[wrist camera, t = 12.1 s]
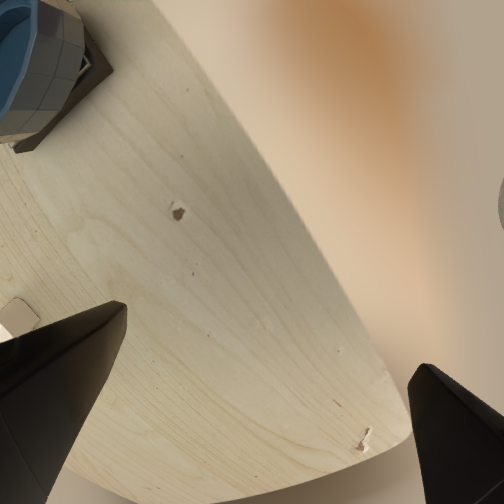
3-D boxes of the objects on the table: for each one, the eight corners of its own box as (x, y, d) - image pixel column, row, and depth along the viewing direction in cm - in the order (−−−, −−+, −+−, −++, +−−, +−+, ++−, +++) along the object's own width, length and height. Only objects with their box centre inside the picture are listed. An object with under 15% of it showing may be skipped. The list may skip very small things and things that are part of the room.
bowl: (119, 25, 13) (73, -5, 8) (40, 166, 16) (-17, 181, 11) (28, -13, 11) (-18, -32, 6) (-33, 106, 14) (-83, 111, 9)
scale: (66, -3, 14) (46, -13, 11) (114, 70, 16) (95, 64, 14) (-6, 75, 15) (-28, 74, 13) (33, 151, 18) (9, 155, 15)
